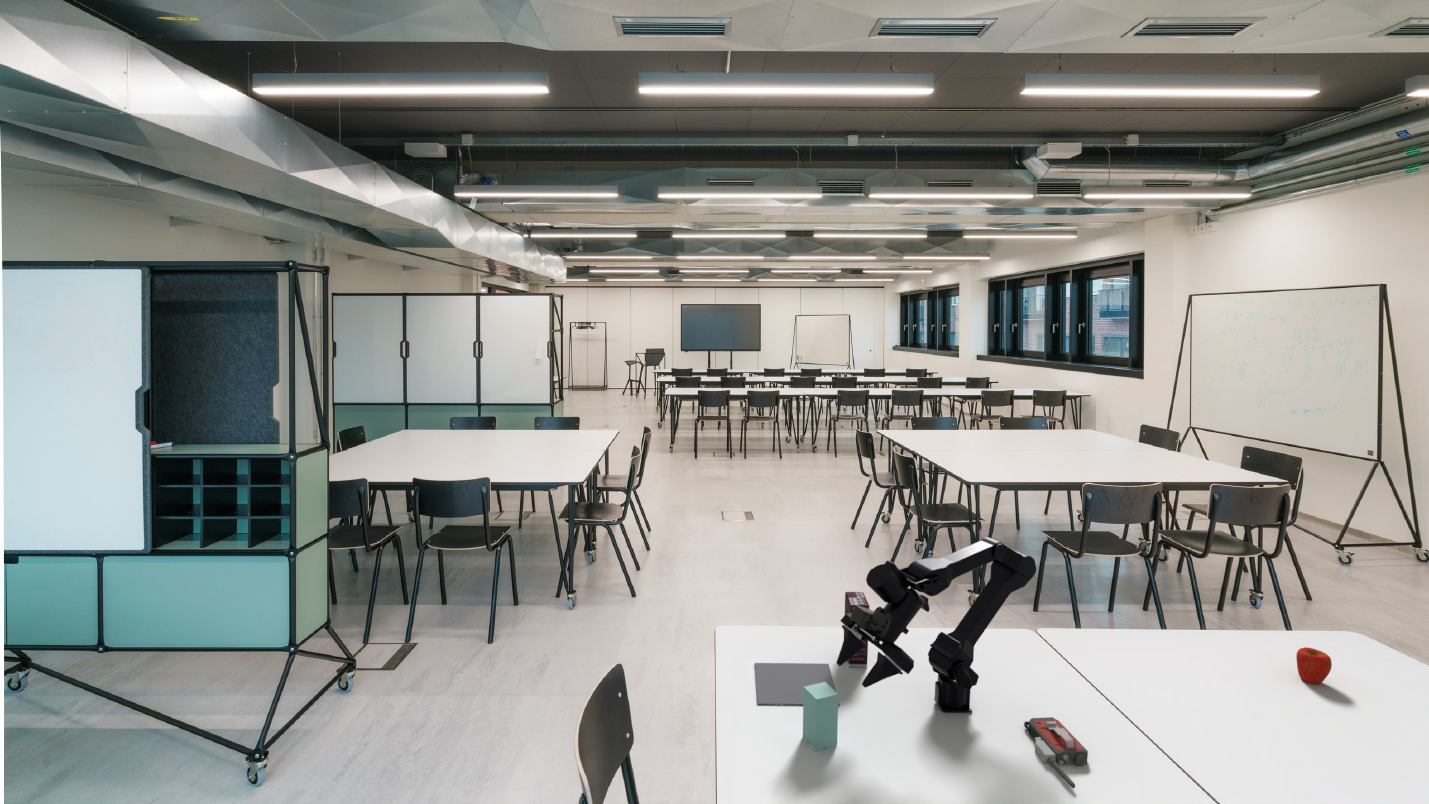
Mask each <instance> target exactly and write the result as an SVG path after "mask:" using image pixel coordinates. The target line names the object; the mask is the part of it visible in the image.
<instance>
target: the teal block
mask: <svg viewBox="0 0 1429 804" xmlns="http://www.w3.org/2000/svg"><path fill="white" fill-rule="evenodd" d="M838 700H839V693H838V692H837V690H836V691H835V690H834V689H832V688H831V687H830V686H829V685H828V684H827V683H826V682H822V683H818V684H814V685H809V686H805V687H804V696H803V705H802V706H803V707H802V708H803V709H802V710H803V711H802V738H803V737H804V738H803V739H804V740H806V741H807V742H808V743H809V744H810V745H811V746H812V747H813V748H814V749H813V748H812V747H811V746H810V745H809V744H808V743H807V742H806V741H805V742H806V743H807V744H808V745H809V746H810V747H811V748H812V749H813V751H814V752H818V751H817V750H819V751H821V750H820V749H822V750H824V749H823V748H826V749H828V748H827V747H830V748H832V747H831V746H833V747H837V746H838V723H839V722H838V721H839V706H838ZM836 745H837V746H836Z"/></svg>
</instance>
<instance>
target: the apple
mask: <svg viewBox="0 0 1429 804" xmlns="http://www.w3.org/2000/svg"><path fill="white" fill-rule="evenodd" d="M1295 657H1296V666H1297V667H1296V668H1297V672H1298V676H1299V678H1300V679H1301V680H1303V681H1304V682H1306V683H1309V684H1312V685H1319V684H1321V683H1323V682H1324V681H1325V680H1326V678H1328V676H1329V674H1330V672H1331V670H1332V666H1333V664H1332V659H1331V656H1330V655H1328V654H1327V653H1326V652H1324V651H1321V650H1319V649H1316V648H1312V647H1301V648H1299V649H1298V650H1297V652H1296V656H1295Z"/></svg>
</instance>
